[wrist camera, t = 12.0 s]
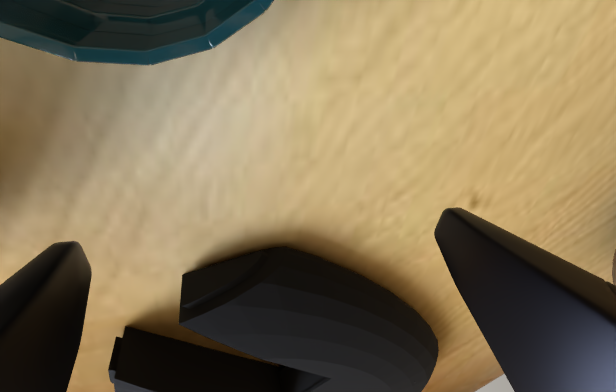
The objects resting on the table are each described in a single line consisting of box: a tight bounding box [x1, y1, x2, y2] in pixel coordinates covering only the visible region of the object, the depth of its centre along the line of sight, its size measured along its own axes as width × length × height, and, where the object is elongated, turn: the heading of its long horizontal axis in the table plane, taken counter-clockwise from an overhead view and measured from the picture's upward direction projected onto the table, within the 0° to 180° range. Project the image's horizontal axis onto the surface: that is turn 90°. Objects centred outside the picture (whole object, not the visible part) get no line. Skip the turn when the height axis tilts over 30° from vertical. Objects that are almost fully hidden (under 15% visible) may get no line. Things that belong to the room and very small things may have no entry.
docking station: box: [108, 247, 439, 392], centre depth 35 cm, size 25×40×5 cm, turn 41°
